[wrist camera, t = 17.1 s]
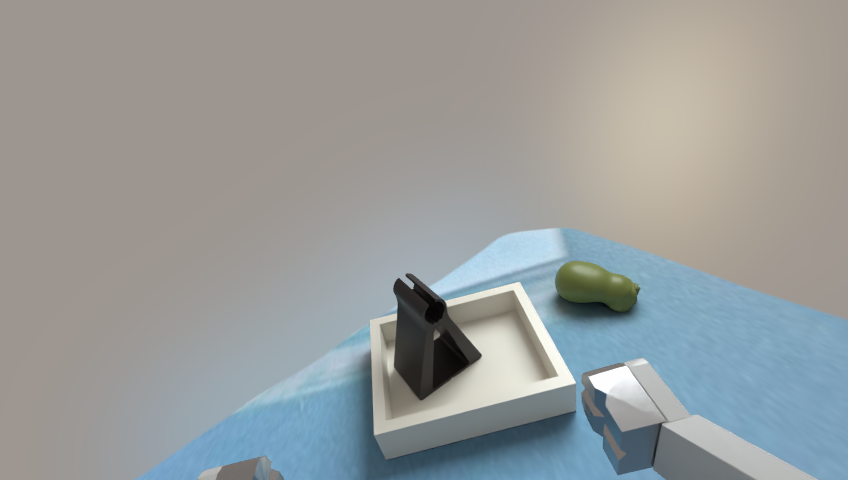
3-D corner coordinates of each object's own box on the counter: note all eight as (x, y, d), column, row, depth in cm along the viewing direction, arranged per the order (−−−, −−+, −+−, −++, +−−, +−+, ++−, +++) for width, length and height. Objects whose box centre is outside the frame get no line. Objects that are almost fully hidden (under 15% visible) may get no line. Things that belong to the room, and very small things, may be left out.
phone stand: (452, 330, 52) (435, 256, 46) (482, 357, 47) (467, 280, 41) (394, 368, 49) (366, 295, 42) (420, 401, 44) (393, 325, 38)
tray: (386, 459, 41) (374, 435, 38) (379, 343, 54) (370, 320, 52) (576, 410, 41) (576, 383, 38) (522, 307, 54) (519, 281, 52)
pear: (562, 249, 54) (644, 266, 50) (556, 278, 57) (633, 296, 53) (555, 275, 50) (643, 295, 46) (549, 304, 53) (631, 326, 49)
